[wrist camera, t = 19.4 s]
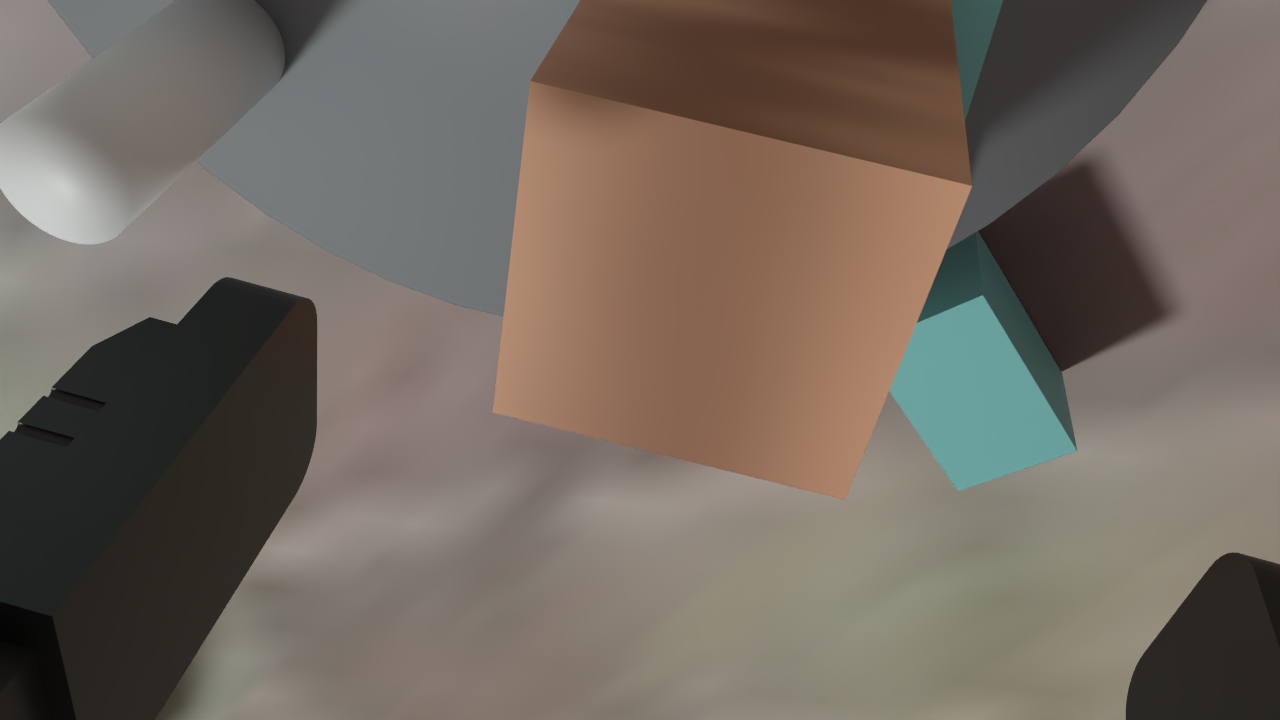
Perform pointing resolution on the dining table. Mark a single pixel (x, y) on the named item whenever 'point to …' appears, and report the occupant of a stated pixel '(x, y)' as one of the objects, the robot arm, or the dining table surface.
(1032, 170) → the disc
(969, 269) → the teal block
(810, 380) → the brown block
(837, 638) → the dining table surface
